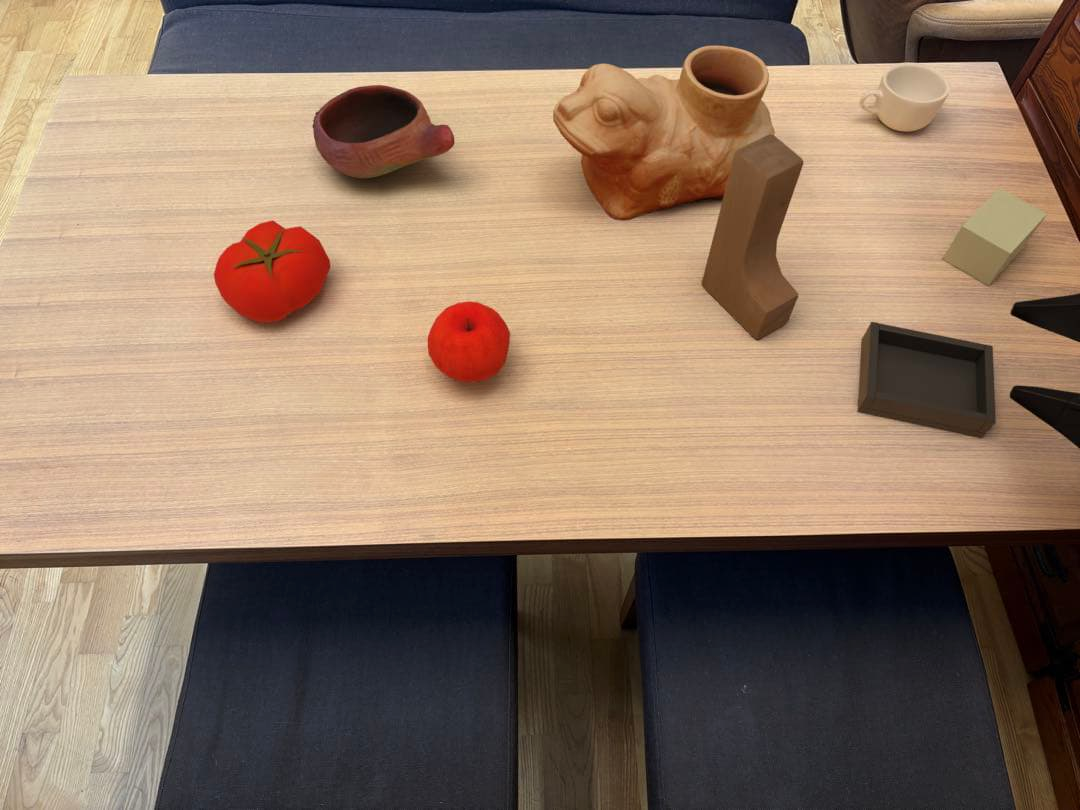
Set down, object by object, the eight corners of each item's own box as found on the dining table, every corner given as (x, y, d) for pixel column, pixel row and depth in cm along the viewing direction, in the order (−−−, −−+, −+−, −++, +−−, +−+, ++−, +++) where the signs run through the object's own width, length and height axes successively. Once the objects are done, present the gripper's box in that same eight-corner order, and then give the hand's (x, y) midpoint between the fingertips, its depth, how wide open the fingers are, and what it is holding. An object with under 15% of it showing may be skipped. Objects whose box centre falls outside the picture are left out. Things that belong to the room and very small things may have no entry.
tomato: (209, 304, 88) (188, 261, 82) (283, 240, 93) (268, 195, 87) (279, 348, 85) (261, 306, 79) (351, 279, 90) (340, 235, 84)
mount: (980, 362, 85) (993, 345, 82) (982, 438, 80) (996, 422, 77) (861, 338, 86) (871, 321, 84) (857, 411, 81) (866, 395, 79)
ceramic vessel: (533, 158, 100) (534, 44, 88) (735, 115, 105) (763, 0, 92) (572, 240, 93) (579, 128, 80) (787, 190, 98) (825, 77, 85)
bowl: (316, 201, 96) (300, 144, 89) (325, 126, 103) (311, 68, 96) (458, 197, 97) (453, 140, 90) (458, 122, 104) (453, 65, 97)
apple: (519, 392, 82) (518, 346, 76) (437, 406, 81) (430, 361, 75) (503, 328, 86) (501, 280, 80) (426, 341, 85) (418, 293, 79)
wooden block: (789, 322, 87) (843, 190, 72) (756, 341, 86) (804, 210, 71) (731, 267, 91) (771, 131, 76) (699, 285, 90) (733, 149, 75)
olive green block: (978, 221, 95) (999, 187, 91) (1024, 247, 93) (1047, 213, 89) (942, 259, 92) (961, 225, 88) (988, 286, 90) (1010, 253, 86)
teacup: (919, 97, 107) (936, 60, 102) (941, 138, 103) (960, 100, 98) (842, 103, 106) (856, 65, 102) (862, 143, 102) (877, 106, 98)
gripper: (1293, 220, 60) (1049, 188, 64) (1355, 414, 49) (1056, 359, 53) (1209, 333, 68) (999, 298, 73) (1247, 520, 57) (996, 466, 61)
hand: (1011, 348), depth 65 cm, fingers open, 9 cm apart
